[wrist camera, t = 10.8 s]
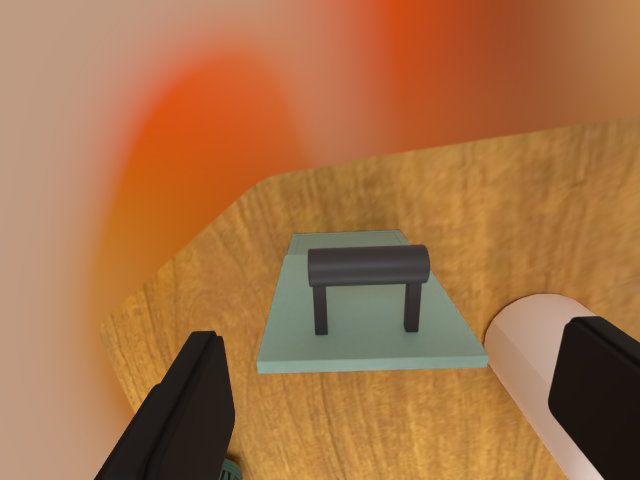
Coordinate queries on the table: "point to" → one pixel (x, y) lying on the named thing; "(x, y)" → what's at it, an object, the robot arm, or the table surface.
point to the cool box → (344, 240)
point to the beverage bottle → (230, 471)
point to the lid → (364, 315)
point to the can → (537, 369)
